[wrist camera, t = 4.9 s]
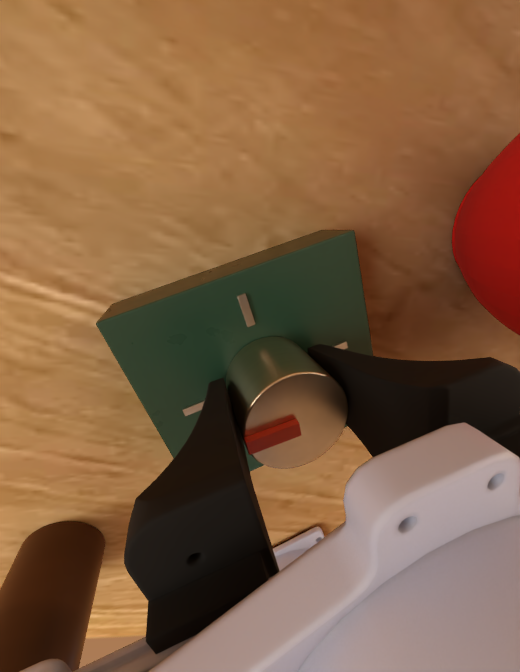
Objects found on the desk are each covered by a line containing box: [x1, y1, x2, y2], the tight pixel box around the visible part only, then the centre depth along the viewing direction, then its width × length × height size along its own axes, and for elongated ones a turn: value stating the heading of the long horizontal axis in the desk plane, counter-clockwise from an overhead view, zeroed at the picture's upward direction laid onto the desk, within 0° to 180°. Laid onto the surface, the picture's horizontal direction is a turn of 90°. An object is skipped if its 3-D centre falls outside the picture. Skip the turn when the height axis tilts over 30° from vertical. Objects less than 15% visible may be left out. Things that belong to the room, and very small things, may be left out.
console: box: [96, 230, 373, 471], centre depth 15 cm, size 10×11×3 cm
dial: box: [226, 337, 348, 469], centre depth 12 cm, size 4×4×4 cm
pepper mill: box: [0, 522, 105, 672], centre depth 13 cm, size 4×4×10 cm
